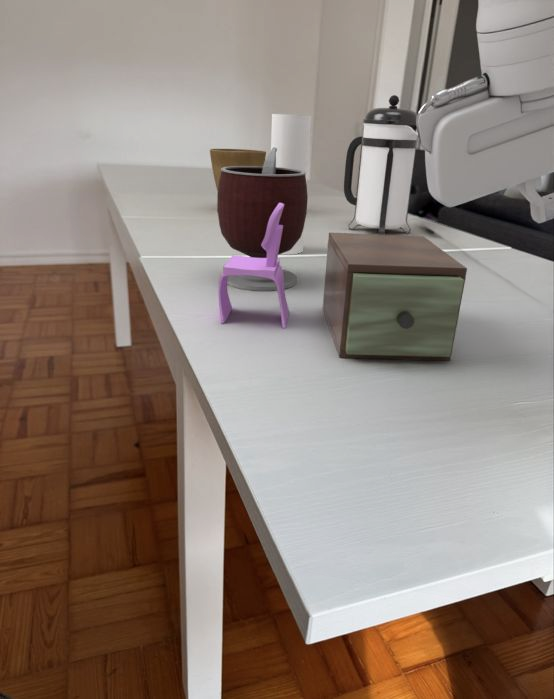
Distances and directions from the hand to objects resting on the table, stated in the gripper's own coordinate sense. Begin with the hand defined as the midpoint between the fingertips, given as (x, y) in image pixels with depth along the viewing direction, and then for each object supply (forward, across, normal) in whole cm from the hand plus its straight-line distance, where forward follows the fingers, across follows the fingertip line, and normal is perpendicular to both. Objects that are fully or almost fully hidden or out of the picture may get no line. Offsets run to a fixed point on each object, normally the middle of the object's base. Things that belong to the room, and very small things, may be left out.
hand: (551, 216), depth 50 cm
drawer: (+13, -16, +10) cm, 23 cm away
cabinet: (+14, -16, +13) cm, 25 cm away
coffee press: (+29, -5, +80) cm, 86 cm away
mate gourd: (+12, -31, +36) cm, 49 cm away
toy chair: (+9, -31, +17) cm, 37 cm away
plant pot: (+20, -37, +102) cm, 110 cm away
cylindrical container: (+17, -26, +57) cm, 65 cm away
